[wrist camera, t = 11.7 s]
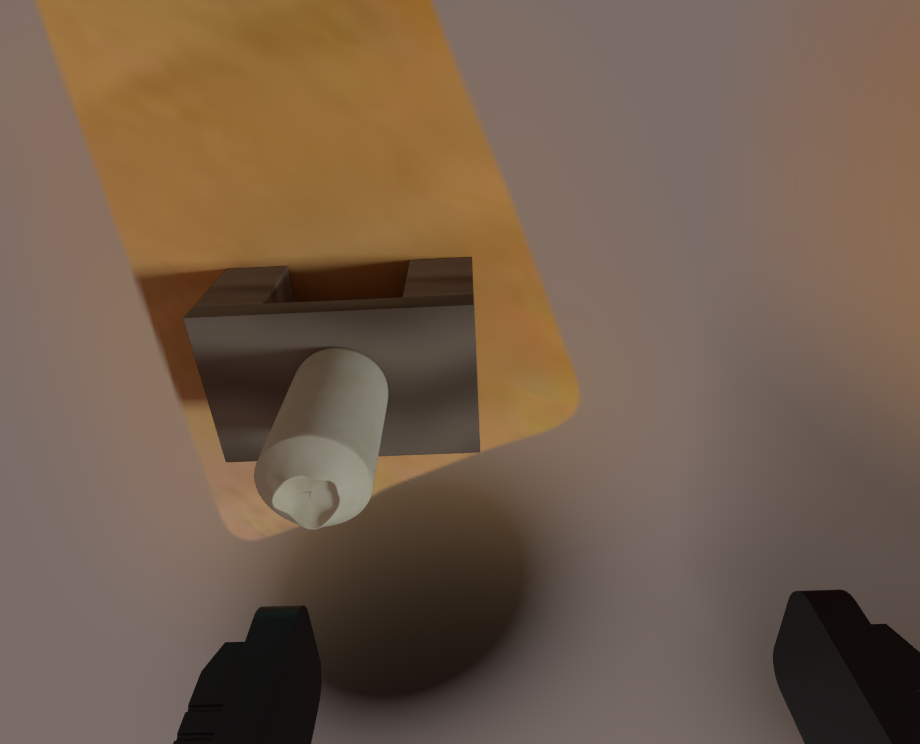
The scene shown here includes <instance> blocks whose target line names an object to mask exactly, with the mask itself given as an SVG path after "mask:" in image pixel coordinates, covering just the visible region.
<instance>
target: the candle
mask: <svg viewBox="0 0 920 744" xmlns="http://www.w3.org/2000/svg"><path fill="white" fill-rule="evenodd" d="M387 402H388V385H387V381H386V378H385V376H384V373H383V372H382V370H381V369H380V367H379V366H378V365H377V364H376V363H375V362H374V361H373V360H372V359H370V358H369V357H367V356H366V355H364V354H362V353H360V352H358V351H355V350H351V349H346V348H329V349H324V350H321V351H318V352H316V353H314V354H313V355H311V356H309V357H308V358H307V359H306V360H305V361H304V362H303V363H302V364H301V365H300V367H299V368H298V370H297V372H296V374H295V376H294V378H293V381H292V383H291V385H290V387H289V390H288V392H287V394H286V397H285V399H284V401H283V403H282V406H281V408H280V410H279V413H278V415H277V417H276V420H275V422H274V424H273V426H272V429H271V431H270V433H269V436H268V438H267V440H266V443H265V445H264V447H263V449H262V452H261V454H260V456H259V459H258V461H257V463H256V467H255V472H254V479H255V484H256V488H257V490H258V493H259V495H260V496H261V498H262V499H263V501H264V502H265V503H266V504H267V505H268V506H269V507H270V508H271V509H272V510H273V511H275V512H276V513H277V514H279V515H280V516H282V517H283V518H285V519H287V520H289V521H291V522H294V523H297V524H299V525H301V526H302V527H304V528H306V529H310V530H315V529H318V528H321V527H324V526H330V525H335V524H339V523H342V522H345V521H347V520H349V519H351V518H353V517H355V516H356V515H357V514H359V513H360V512H361V511H362V510H363V509H364V507H365V506H366V505H367V503H368V502H369V499H370V497H371V493H372V488H373V483H374V477H375V471H376V465H377V460H378V454H379V448H380V443H381V437H382V431H383V425H384V420H385V414H386V408H387Z"/></svg>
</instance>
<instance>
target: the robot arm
mask: <svg viewBox="0 0 920 744" xmlns="http://www.w3.org/2000/svg"><path fill="white" fill-rule="evenodd" d="M773 665H774V671H775V676H776V680H777V683H778V686H779V688H780V691H781V693H782V695H783V697H784V700H785V702H786V704H787V706H788V708H789V710H790V712H791V715H792V717H793V719H794V721H795V723H796V726H797V728H798V730H799V732H800V734H801V736H802V738H803V741H804V743H805V744H920V652H919V651H918V650H916V649H915V648H914V647H913V646H912V645H910V644H909V643H908V642H907V641H906V640H905V639H903V638H902V637H901V636H900V635H899V634H897V633H896V632H895V631H894V630H893V629H892V628H890V627H889V626H888V625H887V624H870V622H869V621H868V619H867V618H866V616H865V614H864V613H863V611H862V610H861V608H860V607H859V606H858V604H857V602H856V601H855V600H854V598H853V597H852V596H851V595H850V594H849V593H848V592H846V591H844V590H817V591H816V590H814V591H795V592H793V593H792V594H791V595H790V597H789V600H788V603H787V607H786V610H785V613H784V616H783V620H782V623H781V626H780V630H779V633H778V636H777V640H776V643H775V646H774V650H773ZM321 686H322V668H321V660H320V657H319V652H318V648H317V645H316V641H315V636H314V632H313V629H312V625H311V621H310V617H309V613H308V610H307V608H306V606H304V605H299V606H270V607H260V608H259V609H258V610H257V611H256V613H255V615H254V618H253V621H252V624H251V626H250V629H249V632H248V635H247V638H246V641H245V642H225V643H224V645H223V646H222V647H221V648H220V649H219V651H218V652H217V653H216V654H215V656H214V657H213V658H212V659H211V661H210V662H209V663H208V664H207V665H206V667H205V668H204V669H203V670H202V672H201V674H200V676H199V679H198V682H197V684H196V687H195V689H194V692H193V695H192V697H191V699H190V702H189V705H188V712H186V713H185V715H184V717H183V720H182V723H181V725H180V728H179V730H178V733H177V735H178V736H177V740H176V741H174V743H173V744H311V741H312V736H313V731H314V727H315V722H316V717H317V712H318V707H319V702H320V695H321Z"/></svg>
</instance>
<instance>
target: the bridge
mask: <svg viewBox="0 0 920 744" xmlns="http://www.w3.org/2000/svg"><path fill="white" fill-rule="evenodd" d="M183 320H184V323H185V326H186V330H187V333H188V336H189V340H190V343H191V346H192V350H193V353H194V356H195V360H196V363H197V367H198V370H199V373H200V377H201V380H202V383H203V387H204V390H205V393H206V397H207V400H208V403H209V407H210V410H211V414H212V417H213V420H214V424H215V427H216V430H217V434H218V437H219V440H220V444H221V447H222V451H223V454H224V457H225V461H226V462H246V461H258V459H259V456H260V454H261V452H262V449H263V447H264V445H265V443H266V440H267V438H268V436H269V433H270V431H271V429H272V426H273V424H274V422H275V420H276V417H277V415H278V413H279V410H280V408H281V406H282V403H283V401H284V399H285V397H286V394H287V392H288V390H289V387H290V385H291V383H292V381H293V378H294V376H295V374H296V372H297V370H298V368H299V367H300V365H301V364H302V363H303V362H304V361H305V360H306V359H307V358H308V357H309V356H311V355H313V354H314V353H316V352H318V351H321V350H324V349H329V348H346V349H351V350H355V351H358V352H360V353H362V354H364V355H366V356H367V357H369V358H370V359H372V360H373V361H374V362H375V363H376V364H377V365H378V366H379V367H380V369H381V370H382V372H383V373H384V376H385V378H386V381H387V385H388V402H387V408H386V414H385V420H384V425H383V431H382V437H381V443H380V448H379V454H378V456H398V455H424V454H449V453H475V452H480V435H479V410H478V386H477V363H476V340H475V317H474V295H473V272H472V257H465V258H444V259H423V260H410V263H409V268H408V273H407V278H406V283H405V288H404V293H403V297H398V298H377V299H355V300H333V301H312V302H295V301H294V296H293V291H292V286H291V281H290V276H289V271H288V266H278V267H257V268H236V269H226V270H225V272H224V273H223V274H222V275H221V276H220V277H219V278H218V279H217V281H216V282H215V283H214V284H213V285H212V286H211V287H210V288H209V290H208V291H207V292H206V293H205V294H204V295H203V296H202V298H201V299H200V300H199V301H198V302H197V303H196V304H195V305H194V307H193V308H192V309H191V310H190V311H189V312H188V313H187V314H186V316H185V317H184V318H183Z"/></svg>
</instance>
